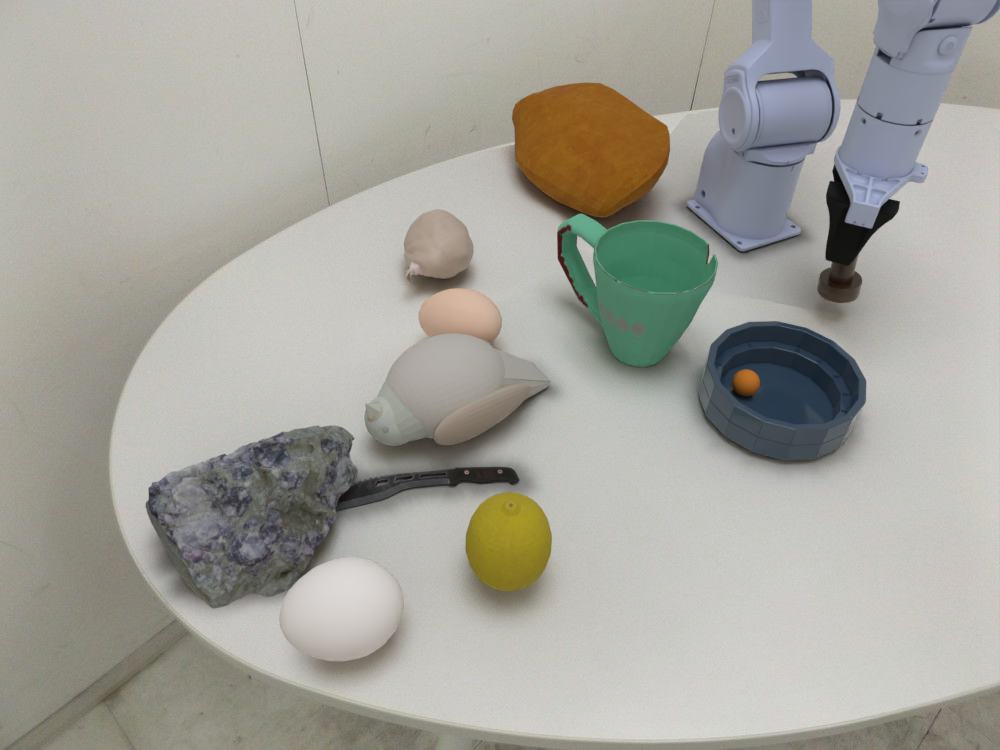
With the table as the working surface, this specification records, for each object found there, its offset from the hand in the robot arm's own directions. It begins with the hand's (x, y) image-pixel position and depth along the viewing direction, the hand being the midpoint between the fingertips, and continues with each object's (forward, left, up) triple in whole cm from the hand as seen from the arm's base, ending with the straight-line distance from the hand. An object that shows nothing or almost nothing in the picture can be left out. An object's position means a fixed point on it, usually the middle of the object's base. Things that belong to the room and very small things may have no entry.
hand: (839, 253), depth 74 cm
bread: (-27, -6, -8) cm, 29 cm away
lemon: (+13, -39, -7) cm, 42 cm away
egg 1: (+13, -46, -3) cm, 48 cm away
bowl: (+8, -12, -6) cm, 16 cm away
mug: (-5, -19, -7) cm, 21 cm away
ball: (+6, -14, -5) cm, 16 cm away
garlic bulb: (-20, -26, -4) cm, 34 cm away
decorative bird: (-2, -36, -6) cm, 36 cm away
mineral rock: (-2, -53, -3) cm, 53 cm away
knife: (+5, -42, -6) cm, 43 cm away
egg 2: (-6, -30, -2) cm, 31 cm away
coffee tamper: (+1, +1, -4) cm, 4 cm away
